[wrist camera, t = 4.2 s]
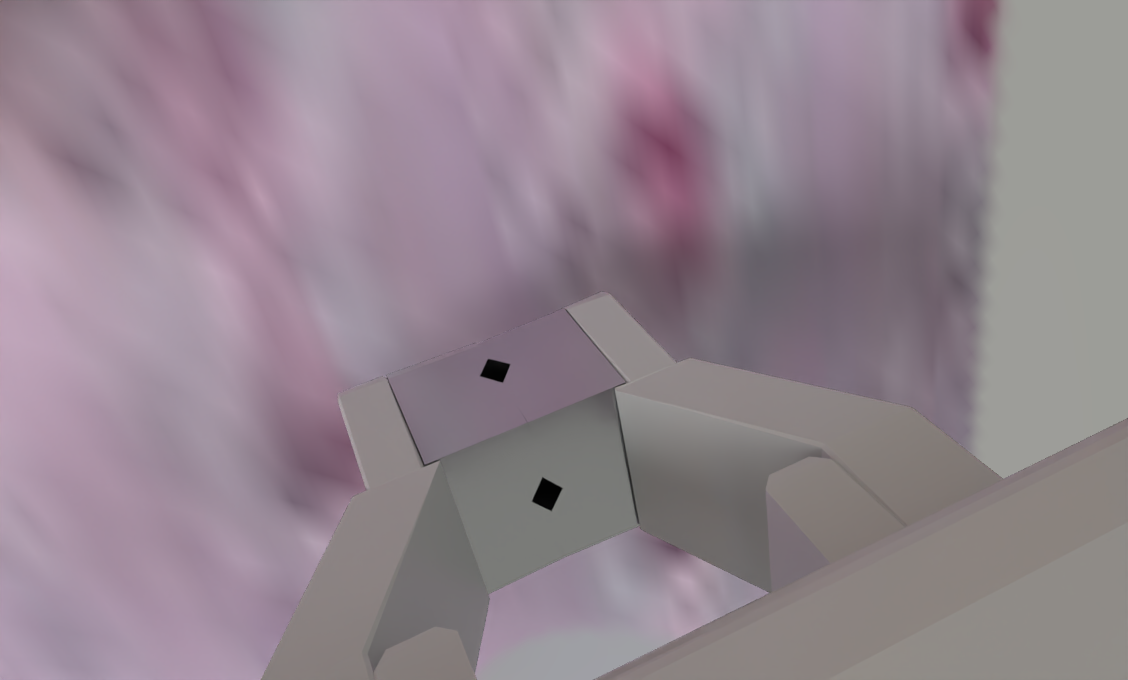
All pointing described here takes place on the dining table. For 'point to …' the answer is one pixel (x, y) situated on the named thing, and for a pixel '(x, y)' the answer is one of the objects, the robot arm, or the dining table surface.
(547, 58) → the dining table surface
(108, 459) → the dining table surface
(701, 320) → the dining table surface
